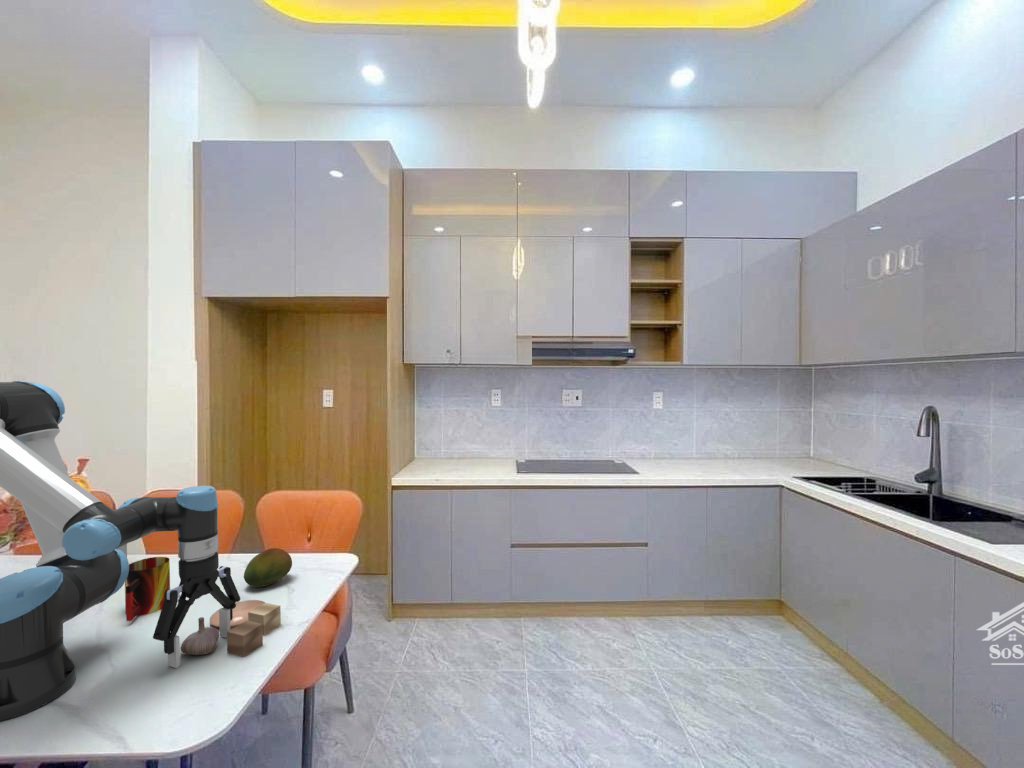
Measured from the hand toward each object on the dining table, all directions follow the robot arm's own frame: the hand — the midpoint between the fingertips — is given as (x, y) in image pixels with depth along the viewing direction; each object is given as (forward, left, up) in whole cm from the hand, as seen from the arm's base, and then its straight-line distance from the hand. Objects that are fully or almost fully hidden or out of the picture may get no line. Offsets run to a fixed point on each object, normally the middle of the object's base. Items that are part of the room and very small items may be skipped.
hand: (200, 650), depth 104 cm
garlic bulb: (0, 0, 0) cm, 0 cm away
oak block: (+12, -6, 0) cm, 13 cm away
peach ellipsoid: (+14, +5, 0) cm, 15 cm away
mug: (+9, +32, 0) cm, 33 cm away
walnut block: (+4, -9, 0) cm, 10 cm away
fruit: (+31, +14, 0) cm, 34 cm away
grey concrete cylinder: (+22, +73, 0) cm, 76 cm away
